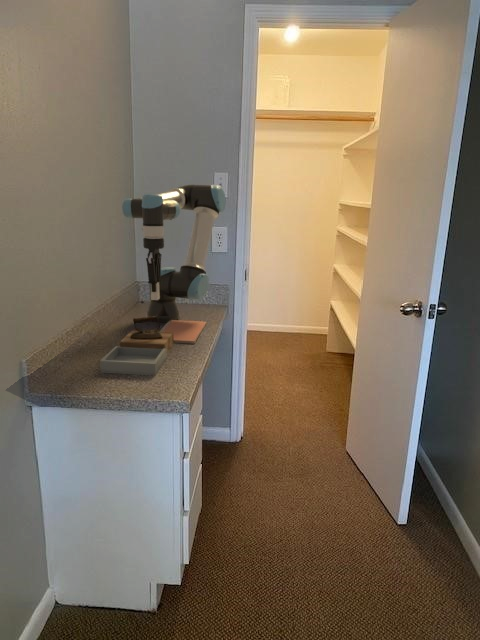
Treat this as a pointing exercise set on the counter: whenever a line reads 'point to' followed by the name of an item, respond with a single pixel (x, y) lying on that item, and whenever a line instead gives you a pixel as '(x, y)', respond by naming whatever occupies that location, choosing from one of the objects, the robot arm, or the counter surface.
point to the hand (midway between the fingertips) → (155, 299)
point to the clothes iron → (147, 333)
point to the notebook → (184, 330)
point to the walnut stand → (149, 341)
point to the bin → (133, 360)
